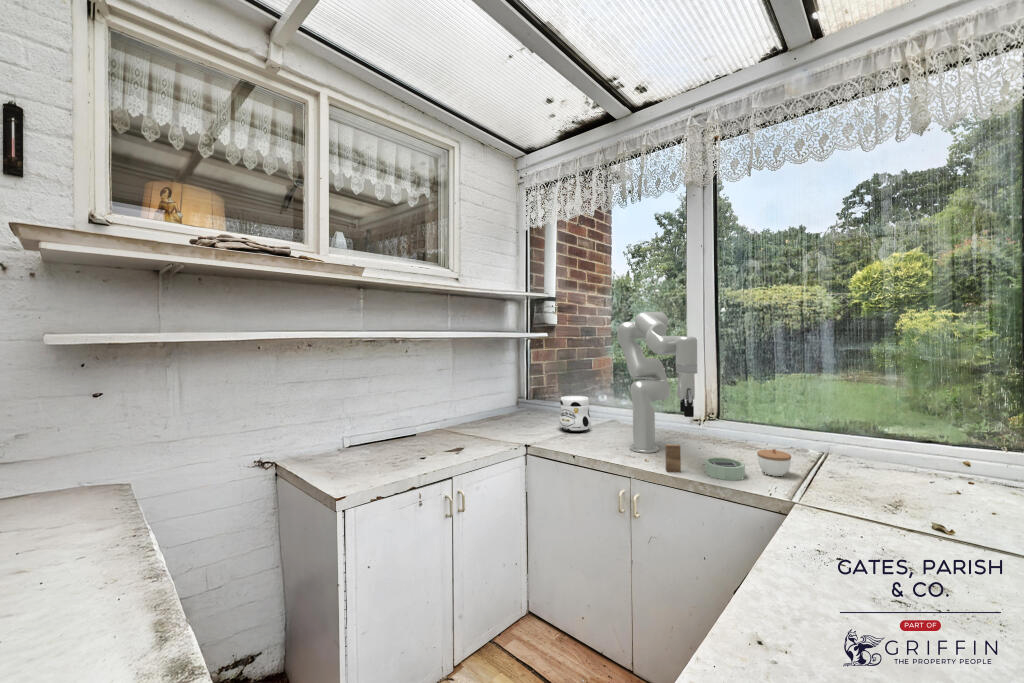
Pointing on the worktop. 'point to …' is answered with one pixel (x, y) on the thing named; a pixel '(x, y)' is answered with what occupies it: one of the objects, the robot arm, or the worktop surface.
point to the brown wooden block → (673, 458)
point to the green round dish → (724, 468)
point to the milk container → (574, 414)
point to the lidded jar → (774, 462)
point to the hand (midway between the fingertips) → (686, 414)
